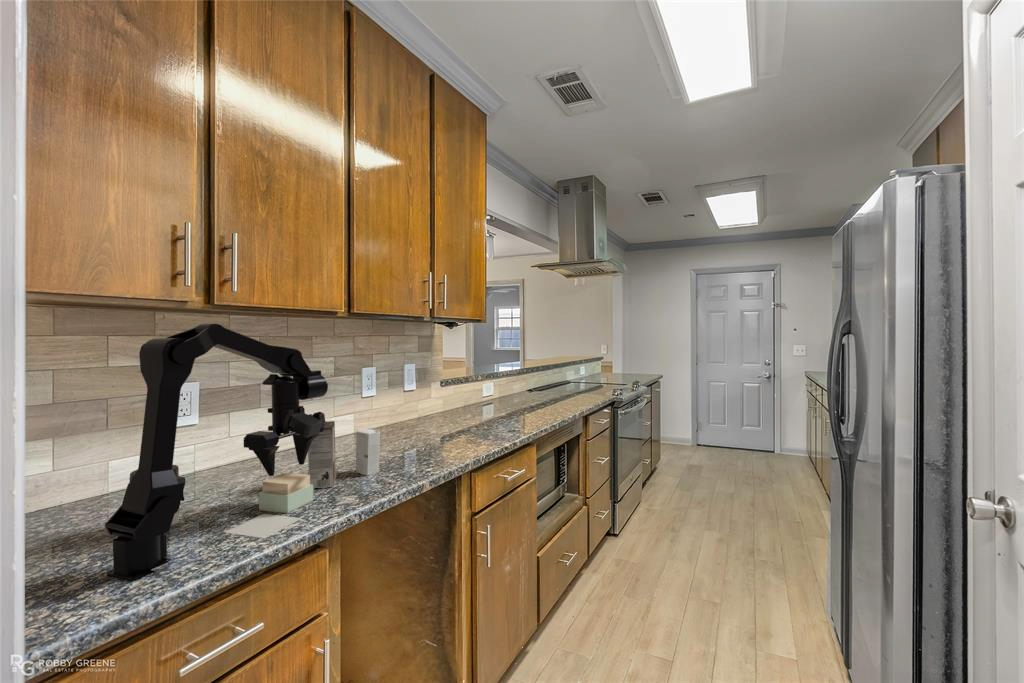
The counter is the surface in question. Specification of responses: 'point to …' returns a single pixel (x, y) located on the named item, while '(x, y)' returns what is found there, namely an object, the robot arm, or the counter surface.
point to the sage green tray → (285, 500)
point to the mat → (263, 525)
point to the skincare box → (367, 451)
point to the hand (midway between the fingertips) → (287, 469)
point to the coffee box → (323, 458)
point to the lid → (286, 483)
